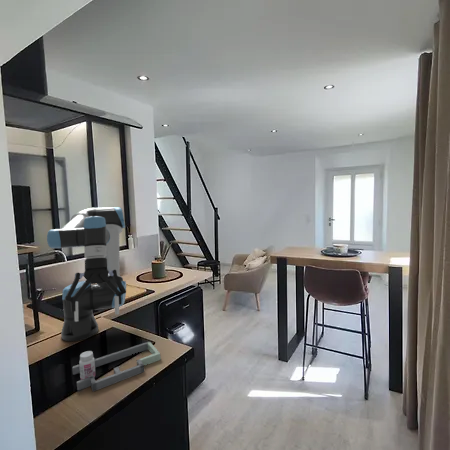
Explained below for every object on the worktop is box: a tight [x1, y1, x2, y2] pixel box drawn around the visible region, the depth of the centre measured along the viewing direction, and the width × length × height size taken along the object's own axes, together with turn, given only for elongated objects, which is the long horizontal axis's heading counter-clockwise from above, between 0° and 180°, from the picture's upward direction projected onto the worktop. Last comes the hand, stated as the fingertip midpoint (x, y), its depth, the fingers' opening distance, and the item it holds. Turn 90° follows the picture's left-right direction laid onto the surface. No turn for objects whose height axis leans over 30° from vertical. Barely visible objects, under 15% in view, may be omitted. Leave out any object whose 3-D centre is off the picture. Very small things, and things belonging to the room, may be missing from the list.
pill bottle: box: [78, 350, 96, 380], centre depth 97 cm, size 5×5×8 cm
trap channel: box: [72, 341, 161, 392], centre depth 102 cm, size 15×28×2 cm, turn 125°
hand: (97, 317), depth 101 cm, fingers open, 13 cm apart
